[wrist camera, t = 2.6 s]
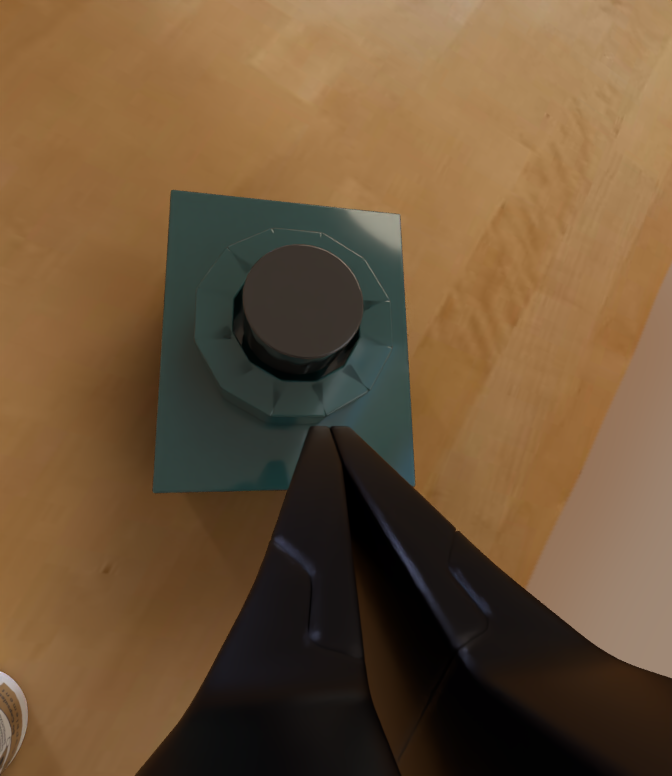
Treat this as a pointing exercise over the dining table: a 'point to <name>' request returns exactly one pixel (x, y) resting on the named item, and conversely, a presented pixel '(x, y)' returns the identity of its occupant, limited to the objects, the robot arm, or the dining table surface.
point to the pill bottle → (11, 719)
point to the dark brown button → (300, 308)
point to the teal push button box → (248, 373)
